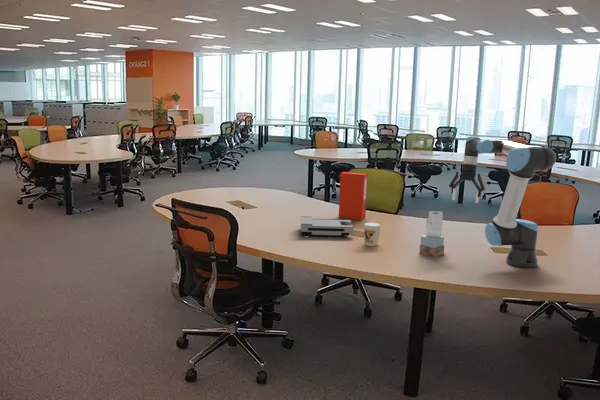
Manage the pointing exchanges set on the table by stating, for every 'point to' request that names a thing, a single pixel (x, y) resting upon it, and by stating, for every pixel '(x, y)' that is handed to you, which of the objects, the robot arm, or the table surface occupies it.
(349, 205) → the file binder
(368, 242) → the coffee cup
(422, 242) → the grey-blue top block
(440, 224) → the ink box
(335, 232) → the game console
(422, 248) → the walnut base block
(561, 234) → the table surface
